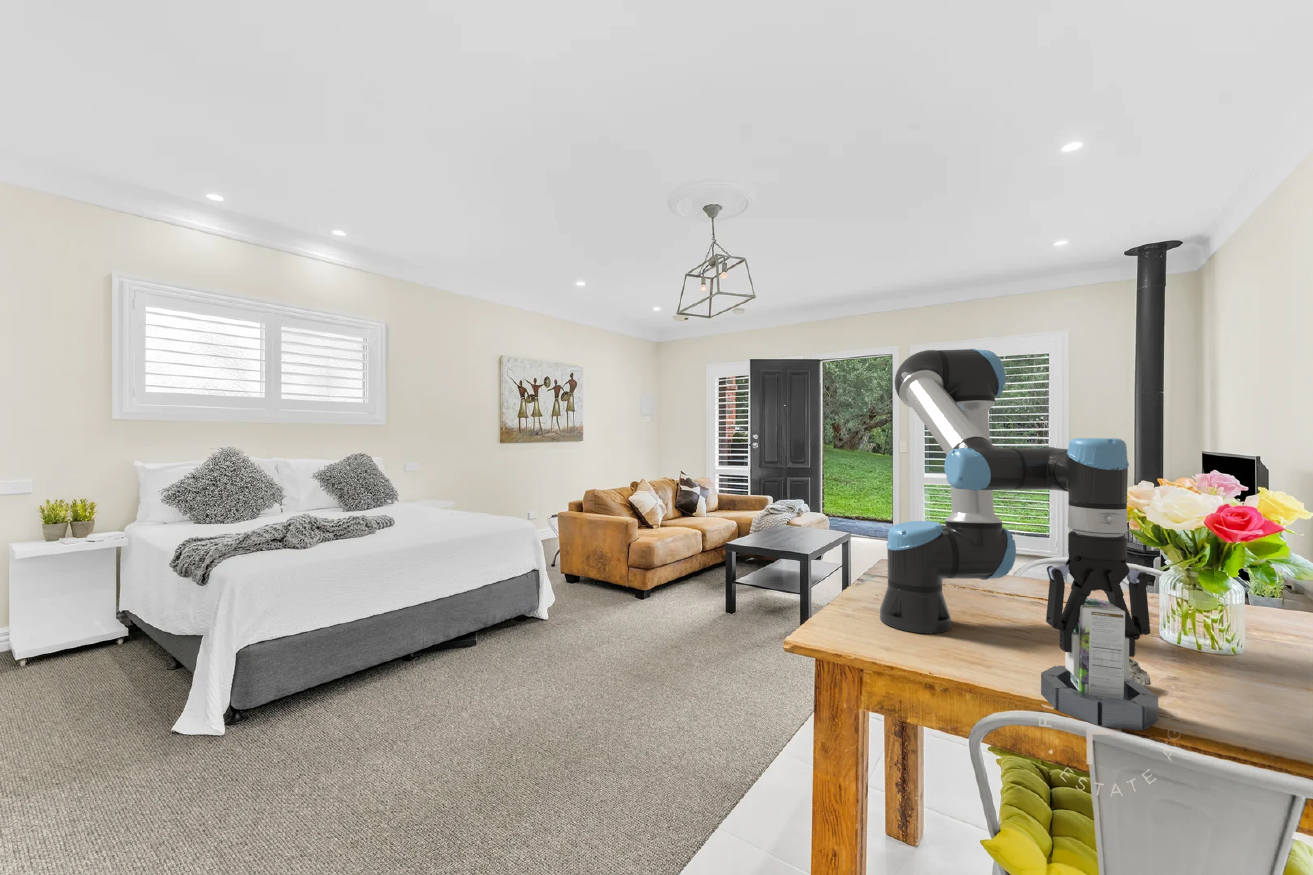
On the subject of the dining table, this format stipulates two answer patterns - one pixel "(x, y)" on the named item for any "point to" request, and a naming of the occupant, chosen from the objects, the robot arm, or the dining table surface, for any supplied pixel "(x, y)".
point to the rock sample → (1138, 673)
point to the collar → (1100, 702)
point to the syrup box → (1100, 650)
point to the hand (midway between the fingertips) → (1096, 673)
